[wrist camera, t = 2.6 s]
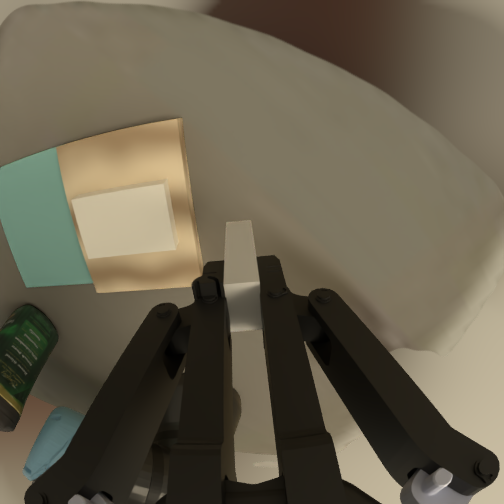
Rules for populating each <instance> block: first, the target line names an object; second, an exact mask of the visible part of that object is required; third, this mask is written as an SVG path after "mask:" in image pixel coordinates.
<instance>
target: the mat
mask: <svg viewBox="0 0 504 504" xmlns="http://www.w3.org/2000/svg"><path fill="white" fill-rule="evenodd" d="M63 145H64V144H63ZM60 146H61V145H60ZM57 147H58V146H57ZM0 219H1V223H2V226H3V229H4V232H5V235H6V238H7V240H8V243H9V246H10V249H11V251H12V254H13V257H14V259H15V262H16V264H17V267H18V269H19V272H20V274H21V276H22V279H23V281H24V283H25V285H26V288H27V287H43V286H59V285H74V284H89V283H93V281H92V278H91V275H90V272H89V270H88V267H87V264H86V261H85V258H84V255H83V252H82V249H81V246H80V243H79V240H78V237H77V233H76V230H75V227H74V223H73V220H72V216H71V212H70V209H69V205H68V201H67V197H66V193H65V189H64V185H63V180H62V176H61V171H60V166H59V161H58V156H57V150H56V147H54V148H51V149H48V150H45V151H42V152H39V153H36V154H33V155H31V156H28V157H25V158H23V159H20V160H17V161H15V162H12V163H10V164H7V165H5V166H2V167H0Z"/></svg>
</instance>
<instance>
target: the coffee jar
mask: <svg viewBox="0 0 504 504" xmlns="http://www.w3.org/2000/svg"><path fill="white" fill-rule="evenodd" d="M57 341H58V334H57V331H56V329H55V328H54V326H53V324H52V323H51V322H50V320H49V319H48V318H47V317H46V316H45V315H44V314H43V313H42V312H40V311H39V310H38V309H36V308H35V307H33V306H31V305H25V306H22V307H20V308H18V309H17V310H16V311H14V312H13V313H12V315H11V316H10V317H9V319H8V320H7V321H6V323H5V324H4V326H3V327H2V329H1V330H0V431H4V432H10V431H13V430H14V429H15V427H16V425H17V423H18V421H19V419H20V417H21V414H22V411H23V408H24V405H25V402H26V400H27V397H28V395H29V393H30V391H31V389H32V387H33V385H34V383H35V381H36V379H37V377H38V375H39V373H40V371H41V370H42V368H43V366H44V364H45V363H46V361H47V359H48V357H49V356H50V354H51V352H52V350H53V349H54V347H55V345H56V343H57Z"/></svg>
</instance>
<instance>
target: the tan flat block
mask: <svg viewBox="0 0 504 504" xmlns="http://www.w3.org/2000/svg"><path fill="white" fill-rule="evenodd" d="M56 150H57V156H58V161H59V166H60V171H61V176H62V180H63V185H64V189H65V193H66V197H67V201H68V205H69V209H70V212H71V216H72V220H73V223H74V227H75V230H76V233H77V237H78V240H79V243H80V246H81V249H82V252H83V255H84V258H85V261H86V264H87V267H88V270H89V272H90V275H91V278H92V281H93V283H94V286H95V289H96V291H97V293H105V292H122V291H137V290H151V289H165V288H178V287H190V286H192V285H191V284H192V282H193V281H194V280H195V279H196V278H198V277H200V276H202V273H203V261H202V255H201V250H200V244H199V238H198V231H197V225H196V219H195V212H194V206H193V199H192V192H191V185H190V178H189V171H188V163H187V155H186V147H185V139H184V131H183V122H182V118H177V119H171V120H165V121H159V122H153V123H148V124H143V125H138V126H133V127H128V128H124V129H120V130H115V131H111V132H107V133H103V134H99V135H95V136H91V137H88V138H84V139H80V140H77V141H73V142H70V143H67V144H64V145H61V146H58V147H56ZM163 179H168V185H169V191H170V197H171V203H172V209H173V214H174V220H175V225H176V231H177V236H178V241H179V242H178V245H177V248H176V250H170V251H160V252H150V253H140V254H131V255H121V256H112V257H102V258H93V259H88V256H87V253H86V250H85V247H84V244H83V241H82V237H81V234H80V231H79V227H78V224H77V220H76V217H75V213H74V209H73V205H72V202H71V200H72V199H73V198H75V197H76V196H77V195H79V194H83V193H88V192H93V191H98V190H103V189H109V188H114V187H120V186H125V185H131V184H137V183H143V182H150V181H156V180H163Z"/></svg>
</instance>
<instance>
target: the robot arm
mask: <svg viewBox="0 0 504 504" xmlns="http://www.w3.org/2000/svg"><path fill="white" fill-rule="evenodd" d="M191 285H192V290H193V294H194V299H195V302H194V303H193V304H191V305H189V306H187V307H183V308H180V309H178V307H177V306H176V305H175V304H172V303H162V304H158V305H157V306H155V307H153V308H152V310H151V311H150V312H149V314H148V315H147V317H146V318H145V320H144V321H143V323H142V324H141V326H140V327H139V329H138V330H137V332H136V333H135V335H134V337H133V338H132V340H131V341H130V343H129V344H128V346H127V348H126V349H125V351H124V352H123V354H122V355H121V357H120V359H119V360H118V362H117V363H116V365H115V367H114V368H113V370H112V372H111V373H110V375H109V376H108V378H107V380H106V381H105V383H104V385H103V386H102V388H101V390H100V391H99V393H98V395H97V396H96V398H95V400H94V401H93V403H92V405H91V407H90V408H89V410H88V412H87V413H86V415H83V414H81V413H79V412H77V411H74V410H72V409H70V408H68V407H57V408H55V409H54V410H53V411H52V412H51V414H50V415H49V417H48V419H47V420H46V422H45V424H44V426H43V428H42V429H41V431H40V433H39V435H38V437H37V439H36V441H35V443H34V445H33V447H32V449H31V452H30V454H29V456H28V458H27V461H26V463H25V467H24V468H23V474H24V475H25V476H26V477H27V478H28V480H30V481H33V482H32V485H31V486H30V487H29V488H28V489H27V491H26V493H25V497H24V500H25V504H381V503H380V502H378V501H377V500H375V499H374V498H372V497H371V496H369V495H368V494H366V493H365V492H363V491H362V490H360V489H359V488H357V487H356V486H354V485H353V484H351V483H349V482H347V481H345V480H342V478H341V474H340V469H339V465H338V461H337V456H336V452H335V448H334V443H333V440H332V437H331V435H330V433H328V432H327V431H326V429H325V425H324V421H323V417H322V413H321V408H320V404H319V400H318V396H317V392H316V388H315V384H314V380H313V376H312V372H311V368H310V364H309V360H308V356H307V352H306V348H305V344H304V341H306V344H307V346H308V347H309V349H310V351H311V352H312V354H313V355H314V357H315V359H316V360H317V362H318V363H319V365H320V366H321V368H322V370H323V371H324V373H325V374H326V376H327V377H328V379H329V381H330V382H331V384H332V385H333V387H334V388H335V390H336V392H337V393H338V395H339V396H340V398H341V399H342V401H343V403H344V404H345V406H346V407H347V409H348V411H349V412H350V414H351V415H352V417H353V418H354V420H355V421H356V423H357V425H358V426H359V428H360V429H361V431H362V432H363V434H364V436H365V437H366V438H367V440H368V442H369V443H370V445H371V446H372V448H373V450H374V451H375V453H376V454H377V456H378V458H379V459H380V461H381V462H382V464H383V465H384V467H385V468H386V470H387V471H388V472H389V474H390V475H391V476H392V477H393V478H394V480H395V481H396V482H397V483H398V484H399V485H401V486H402V487H403V488H402V490H401V493H400V500H401V503H402V504H468V503H469V501H470V500H471V498H472V497H473V495H475V494H476V493H477V492H479V491H480V490H482V489H484V488H486V487H487V486H489V485H490V484H492V483H493V482H494V480H495V479H496V478H497V476H498V472H499V461H498V458H497V456H496V455H495V454H494V453H493V452H491V451H490V450H488V449H486V448H485V447H483V446H481V445H479V444H478V443H476V442H475V441H473V440H471V439H470V438H468V437H466V436H465V435H463V434H461V433H460V432H458V431H457V430H454V429H453V428H452V427H450V425H449V424H448V423H447V422H446V420H445V419H444V418H443V417H442V415H441V414H440V413H439V412H438V410H437V409H436V408H435V407H434V405H433V404H432V403H431V402H430V401H429V399H428V398H427V397H426V396H425V394H424V393H423V392H422V391H421V390H420V389H419V387H418V386H417V385H416V384H415V382H414V381H413V380H412V379H411V378H410V377H409V375H408V374H407V373H406V372H405V371H404V369H403V368H402V367H401V366H400V365H399V364H398V362H397V361H396V360H395V359H394V358H393V356H392V355H391V354H390V353H389V352H388V351H387V349H386V348H385V347H384V346H383V345H382V344H381V343H380V341H379V340H378V339H377V338H376V337H375V336H374V334H373V333H372V332H371V331H370V330H369V329H368V328H367V327H366V325H365V324H364V323H363V322H362V321H361V320H360V319H359V317H358V316H357V315H356V314H355V313H354V312H353V311H352V310H351V309H350V307H349V306H348V305H347V304H346V303H345V302H344V301H343V300H342V298H341V297H340V296H339V295H338V294H337V293H336V292H334V291H333V290H330V289H325V288H320V289H315V290H313V291H312V292H311V293H310V294H309V296H308V297H307V296H299V295H296V294H293V293H292V292H291V291H290V290H289V288H288V287H287V286H286V282H285V279H284V275H283V271H282V267H281V264H280V260H279V259H278V258H277V257H276V256H275V255H271V256H260V257H256V252H255V245H254V238H253V231H252V224H251V220H245V221H234V222H226V238H225V259H224V260H223V261H212V262H207V264H206V265H205V266H204V267H203V273H202V276H200V277H198V278H196V279H195V280H194V281H193V282H192V284H191ZM230 329H231V332H236V331H248V330H259V329H263V343H264V349H265V357H266V366H267V374H268V382H269V391H270V399H271V408H272V416H273V425H274V433H275V441H276V450H277V458H278V467H279V477H278V478H275V479H272V480H269V481H265V482H262V483H259V484H246V483H241V482H237V478H236V472H235V456H234V434H235V431H236V428H237V425H238V422H239V420H240V417H241V399H240V396H239V394H238V393H237V392H236V390H235V389H233V388H232V339H231V333H230ZM184 368H185V374H182V373H183V371H184Z"/></svg>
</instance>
